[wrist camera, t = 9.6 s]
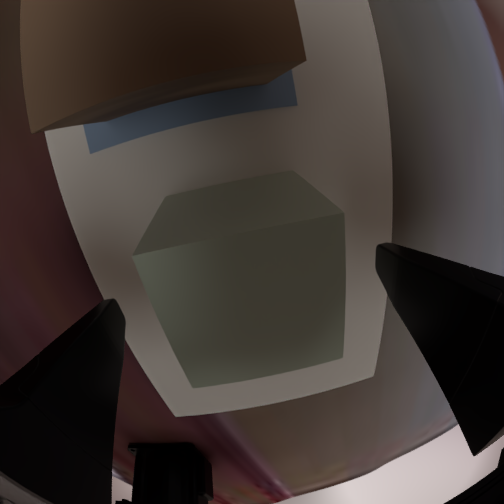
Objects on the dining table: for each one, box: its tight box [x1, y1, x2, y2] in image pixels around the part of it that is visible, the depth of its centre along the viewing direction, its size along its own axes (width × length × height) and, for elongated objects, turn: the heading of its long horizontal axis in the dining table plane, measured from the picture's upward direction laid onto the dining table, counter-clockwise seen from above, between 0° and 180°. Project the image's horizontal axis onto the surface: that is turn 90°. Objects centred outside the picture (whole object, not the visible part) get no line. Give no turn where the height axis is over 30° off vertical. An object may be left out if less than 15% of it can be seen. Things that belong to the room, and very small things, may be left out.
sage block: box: [132, 170, 346, 388], centre depth 10 cm, size 5×5×5 cm
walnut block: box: [20, 0, 307, 134], centre depth 5 cm, size 6×6×5 cm
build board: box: [45, 0, 393, 417], centre depth 12 cm, size 14×27×1 cm, turn 10°
